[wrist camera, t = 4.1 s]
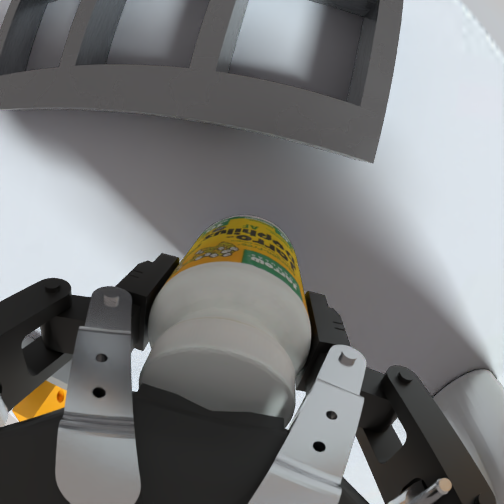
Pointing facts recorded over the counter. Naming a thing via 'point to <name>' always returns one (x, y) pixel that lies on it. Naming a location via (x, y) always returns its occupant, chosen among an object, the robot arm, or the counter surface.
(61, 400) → the pipe clamp
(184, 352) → the supplement bottle
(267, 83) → the three-compartment grey tray
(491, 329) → the counter surface
